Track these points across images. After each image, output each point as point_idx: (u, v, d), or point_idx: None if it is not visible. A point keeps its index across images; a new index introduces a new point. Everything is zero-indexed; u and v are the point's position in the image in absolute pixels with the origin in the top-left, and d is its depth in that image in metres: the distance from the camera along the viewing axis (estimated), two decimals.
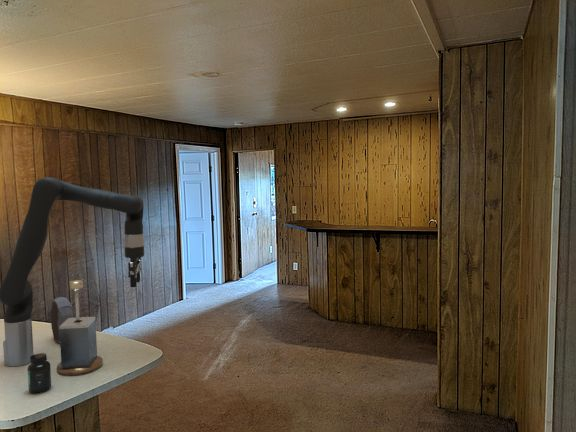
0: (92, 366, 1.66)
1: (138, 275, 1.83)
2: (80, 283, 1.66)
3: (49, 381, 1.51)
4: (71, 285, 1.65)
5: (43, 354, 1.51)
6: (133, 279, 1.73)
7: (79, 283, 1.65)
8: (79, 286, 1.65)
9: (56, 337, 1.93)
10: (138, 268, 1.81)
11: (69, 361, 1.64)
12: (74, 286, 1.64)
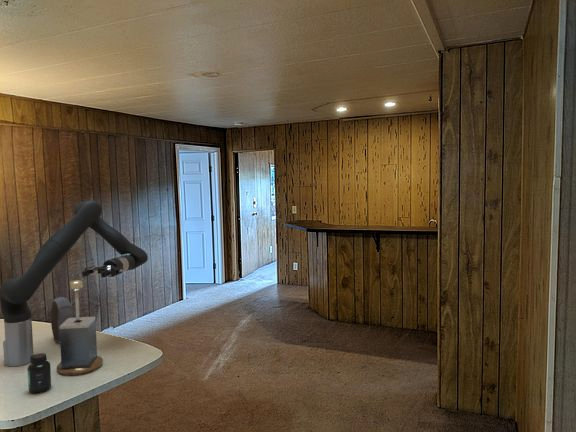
0: (92, 366, 1.66)
1: (88, 274, 1.80)
2: (80, 283, 1.66)
3: (49, 381, 1.51)
4: (71, 285, 1.65)
5: (43, 354, 1.51)
6: (109, 273, 1.78)
7: (79, 283, 1.65)
8: (79, 286, 1.65)
9: (56, 337, 1.93)
10: (96, 273, 1.83)
11: (69, 361, 1.64)
12: (74, 286, 1.64)
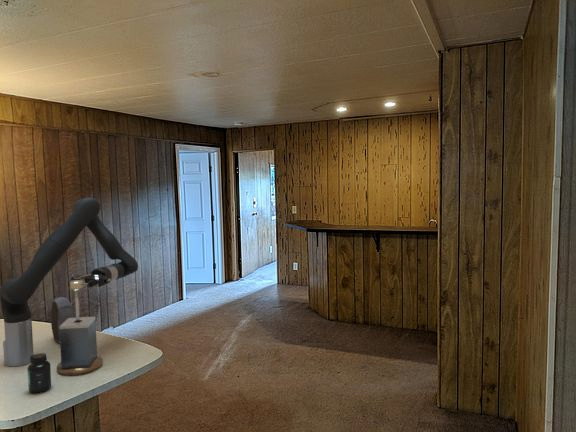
0: (92, 366, 1.66)
1: None
2: (80, 283, 1.66)
3: (49, 381, 1.51)
4: (71, 285, 1.65)
5: (43, 354, 1.51)
6: (96, 283, 1.71)
7: (79, 283, 1.65)
8: (79, 286, 1.65)
9: (56, 337, 1.93)
10: None
11: (69, 361, 1.64)
12: (74, 286, 1.64)
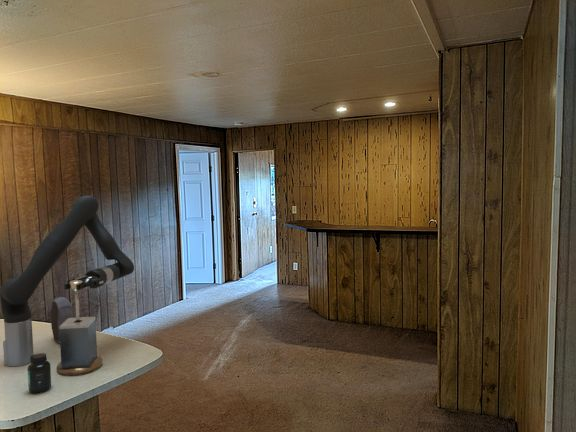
0: (92, 366, 1.66)
1: None
2: None
3: (49, 381, 1.51)
4: (71, 285, 1.65)
5: (43, 354, 1.51)
6: (85, 286, 1.66)
7: None
8: None
9: (56, 337, 1.93)
10: None
11: (69, 361, 1.64)
12: (74, 286, 1.64)
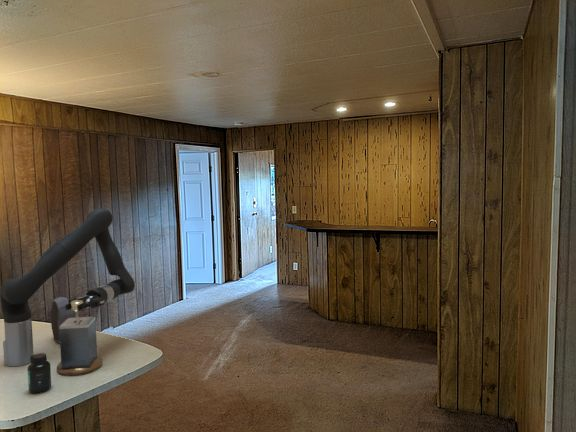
0: (92, 366, 1.66)
1: None
2: None
3: (49, 381, 1.51)
4: (72, 306, 1.65)
5: (43, 354, 1.51)
6: (86, 306, 1.67)
7: (80, 303, 1.66)
8: None
9: (56, 337, 1.93)
10: None
11: (69, 361, 1.64)
12: (75, 306, 1.65)
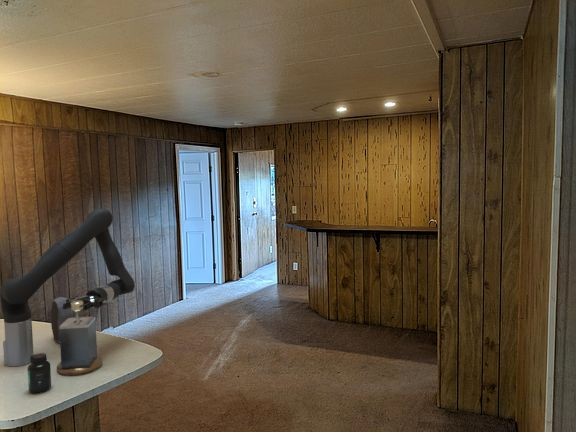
0: (92, 366, 1.66)
1: (69, 306, 1.69)
2: (81, 304, 1.66)
3: (49, 381, 1.51)
4: (72, 306, 1.65)
5: (43, 354, 1.51)
6: (91, 306, 1.68)
7: (80, 304, 1.66)
8: (80, 307, 1.66)
9: (56, 337, 1.93)
10: None
11: (69, 361, 1.64)
12: (75, 307, 1.65)
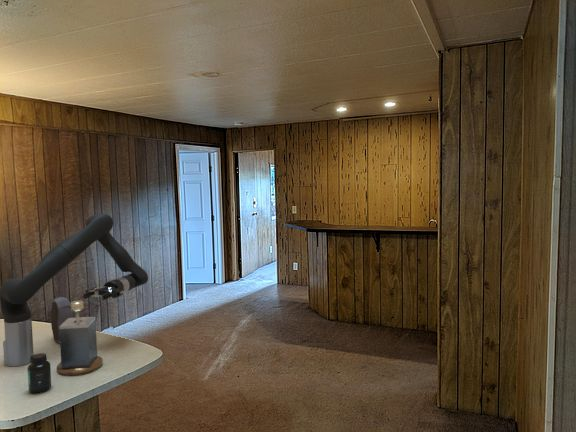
0: (92, 366, 1.66)
1: (89, 296, 1.81)
2: (81, 304, 1.66)
3: (49, 381, 1.51)
4: (72, 306, 1.65)
5: (43, 354, 1.51)
6: (110, 296, 1.79)
7: (80, 304, 1.66)
8: (80, 307, 1.66)
9: (56, 337, 1.93)
10: (97, 295, 1.84)
11: (69, 361, 1.64)
12: (75, 307, 1.65)
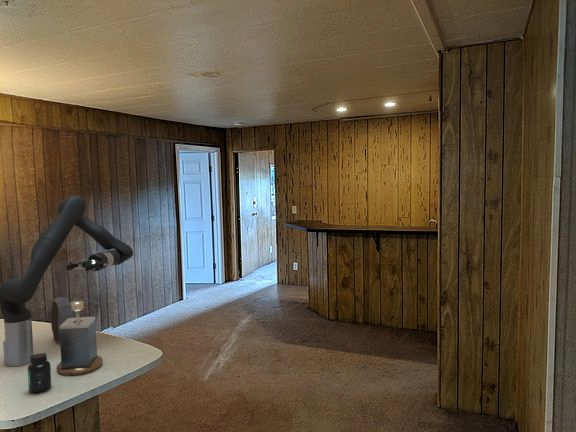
0: (92, 366, 1.66)
1: (72, 268, 1.82)
2: (81, 304, 1.66)
3: (49, 381, 1.51)
4: (72, 306, 1.65)
5: (43, 354, 1.51)
6: (93, 267, 1.81)
7: (80, 304, 1.66)
8: (80, 307, 1.66)
9: (56, 337, 1.93)
10: (80, 267, 1.85)
11: (69, 361, 1.64)
12: (75, 307, 1.65)
